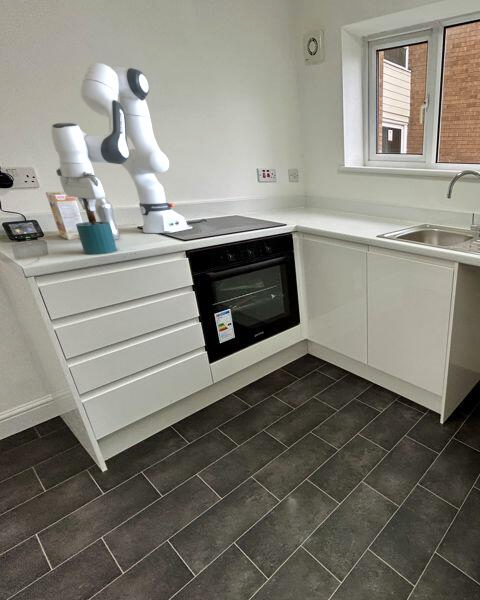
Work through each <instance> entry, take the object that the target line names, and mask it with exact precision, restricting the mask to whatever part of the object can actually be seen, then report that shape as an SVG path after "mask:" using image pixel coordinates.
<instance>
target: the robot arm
mask: <svg viewBox="0 0 480 600" xmlns="http://www.w3.org/2000/svg"><path fill="white" fill-rule="evenodd" d="M149 92H150V83H149V81H148V79H147V77H146V74H144V73H143V72H142V71H141V70H139V69H136V68H132V67H123V66H118V65H117V66H116V65H113V66H109V65H107V64H104V63H102V62H92V63H90V64H89V65H88V67H87V69H86V71H85V72H84V75H83V78H82V81H81V85H80V97H81V99H82V102H84V104H85V105H86V106H87V107H88V108H89V109H90V110H92V111H93V112H95V113H97V114H99V115H101V116H104V117H106V118H108V128H109V129H108V131H109V132H108V133H107V134H104V135H97V134H96V135H92V134H88V133H87V132H84V131H83V130H81V127H80V126H79V125H78V124H76V123H73V122H58V123H54V124H52V125H51V126H50V132H51V139H52V143H53V147H54V150H55V152H56V153H57V155H58V161H59V165H60V166H59V167H58V168H57V169H56V170H55V172H56V175H57V177H59V181H60V184H61V187H62V190H63V192H65V194H66V195H67V196H70V197H75V198H77V200H78V202H79V204H80V205H81V208H82V210H84V211H86V210H85V207H84V203H83V200H82V198H86V200H87V202H88V206H87V207H88V210H89V211H94V212H96V211H95V210H96V209H95V201H96V200H99V199H105V196H106V193H105V190H104V187H103V184H102V181H101V180H100V178H98V177H97V175H95V171H94V167H93V163H100V164H101V163H104V164H114V165H121V166H122V168H124V169H125V170H126V171H127V172H128V174H129V176H130V178H131V179H132V181H133V183H134V185H135V188H136V191H137V192H136V193H137V196H138V200H139V203H138V206H139V211H140V213H141V215H142V233H144V234H172V233H177V232H181V231H186V230H192V229H193V225H190V224H199V223H202V222H203V221H204V222H208V221H207V219H205V218H202V219H200V220H198V221H188V222H187V220H186V218H185V216H183V215H182V214H179V213H178V212H176V211H174V210H173V209H172V208H175V206H176V204H175V203H173V202H172V203H171V202H170V203H169V202H167V199H166V193H165V189H164V186H163V185H162V184H161V182H159V180H158V179H157V177H156V175H159V174H162V173H165V172H167V171H168V170H169V168H170V160H169V158H168V156H167V155H166V154H165V153H164V152H163V151H162V150H161V149H160V147H159V145H158V142H157V140H156V137H155V135H154V130H153V125H152V119H151V114H150V109H149V107H148V103H147V100H146V98H147V96H148V95H149ZM128 139H129V140H130V141H131V144H132V145H133V148H129V145H128Z"/></svg>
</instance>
